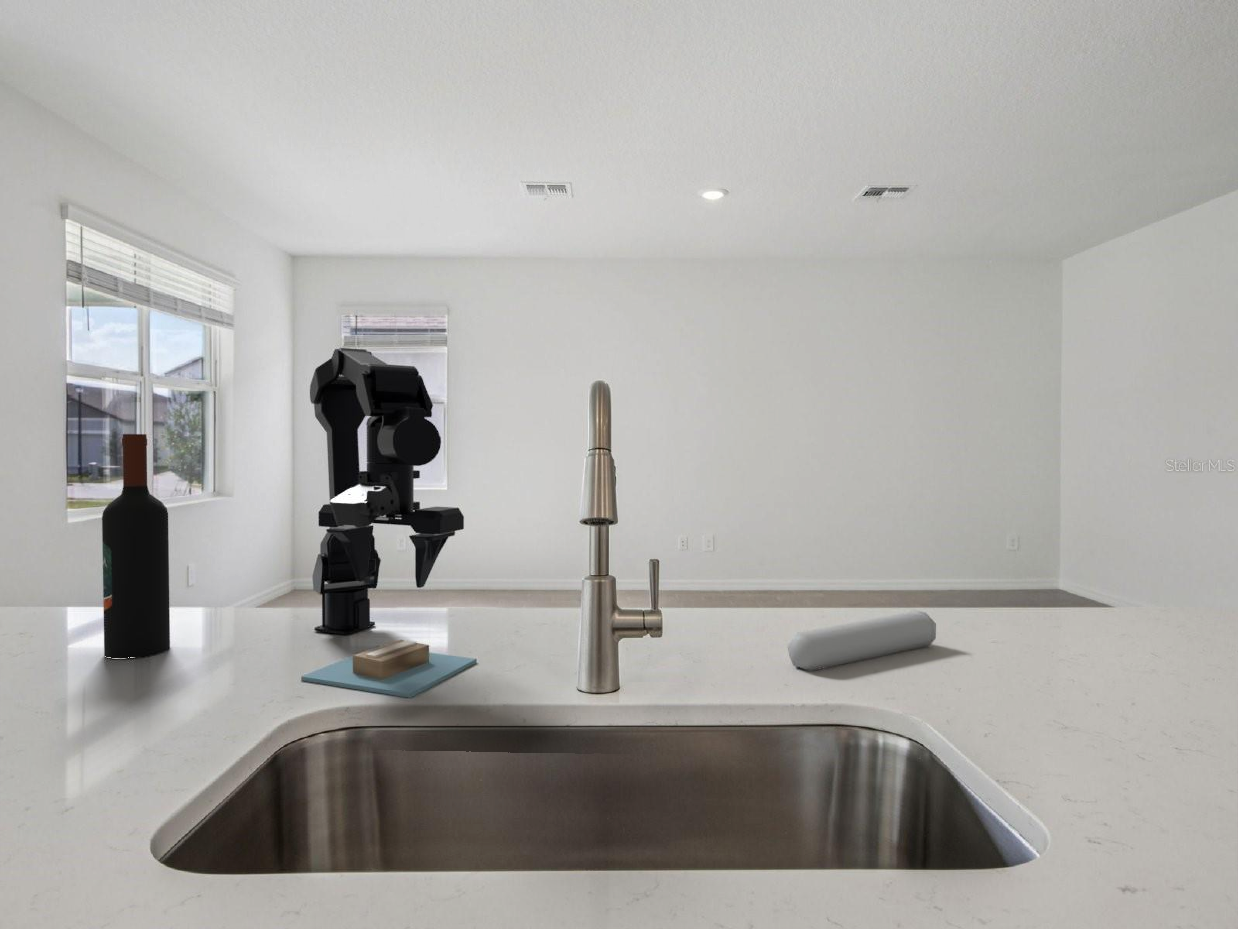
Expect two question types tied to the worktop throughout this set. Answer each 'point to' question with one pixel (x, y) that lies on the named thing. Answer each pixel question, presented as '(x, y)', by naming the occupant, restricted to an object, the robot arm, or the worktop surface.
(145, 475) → the wine bottle
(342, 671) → the mat
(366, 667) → the brown cardboard box
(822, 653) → the tube
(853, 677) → the worktop surface
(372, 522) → the robot arm
